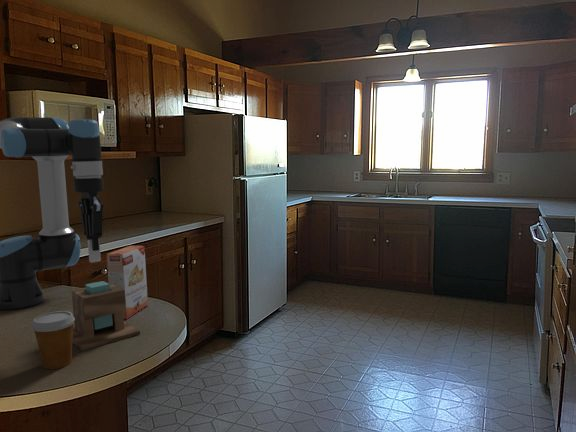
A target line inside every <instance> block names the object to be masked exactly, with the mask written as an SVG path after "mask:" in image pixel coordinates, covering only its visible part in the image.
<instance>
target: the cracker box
mask: <svg viewBox="0 0 576 432" xmlns="http://www.w3.org/2000/svg"><path fill="white" fill-rule="evenodd" d="M106 265H107V279H108V282H107V283H112V284H114V285H116V286H118V287H120V288H122V289H124V290H125V300H126V311H123V317H124V320H128V319H129V318H131V317H132V316H134V315H135V313H136V314H137V313H138V311H139V312H140V311H142V310H143V308H144V307H145V308H147V307H148V306H149V303H148V302H149V301H148V299H149V298H148V285H147V283H148V281H147V269H146V268H147V266H146V247H145V246H143V245H128V246H126V247H123V248H120V249H118V250H113V251H112V252H109V253H106ZM147 305H148V306H147ZM146 306H147V307H146ZM145 308H144V309H145ZM141 309H142V310H141Z"/></svg>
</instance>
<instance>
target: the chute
mask: <svg viewBox="0 0 576 432" xmlns="http://www.w3.org/2000/svg"><path fill="white" fill-rule="evenodd" d="M107 283H108V284H110V291H106V292H101V293H96V294H91V295H90V294H89V293H87V292H86V287H81V288H77V289H72V290H71V300H72V301H71V302H72V311H73V313H72V314H73V317H75V321H74V323H73V325H74V327H73V341H72V344H74V345H75V346H76V347H77V348H78V349H79V350H80V351H82V352H83V351H85V350H90V349H93V348H97V347H101V346H104V345H106V344H111V343H115V342H118V341H121V340H125V339H129V338H133V337H135V336H139V335H141V331H140V329H137V328H136V327H134V326H132V325H131V324H130V323H127V321H125V319H124V317H123V311H126V300H125V290H124V289H122V288H120V287H118V286H116V285H114V284H112V283H109V282H107ZM110 314H112V320H113V325H112V326H108V327H104V328H100V329H97V330H95V329H94V327H93V319H94V318H98V317H102V316H106V315H110Z"/></svg>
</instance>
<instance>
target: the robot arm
mask: <svg viewBox="0 0 576 432" xmlns="http://www.w3.org/2000/svg"><path fill="white" fill-rule="evenodd" d="M0 149H1V150H2V151H1V152H2V153H3V155H4V156H5V157H8V158H29V157H30V158H33V160H35V161H36V163H37V173H38V174H37V175H38V185H39V198H40V209H41V221H42V229H41V230H40V231H39V232H38V238H34V237H33V236H32V235H29V234H27V235H20V236H13V237H10V238H6V239H3V240H1V241H0V310H3V311H5V310H6V311H7V310H18V309H25V308H29V307H32V306H33V307H34V306H35V305H38V304H41V303H42V302H44V301H45V293H44V291H43V289H42V287H41V285H40V284H39V281H38V279H37V272H42V271H46V270H54V269H61V268H63V269H64V268H65V269H66V268H68V267H72V266H75V265H76V264H77V263H78V262H79V260H80V257H81V247H82V246H81V239H80V236H79V235H78V233H75V230H74V229H73V228H72V227H70V222H69V210H68V209H69V207H68V195H67V184H66V183H67V182H66V181H67V180H66V168H65V161H66V159H67V158H68V157H71V161H72V162H71V165H70V169H71V170H72V174H73V177H74V179H73V191H74V192H75V193H81V196H80V197H81V198H80V201H78V202H77V203H78V206H79V210H80V216H81V224H82V230H83V235H84V236H86V240H87V249H88V260H89V261H88V262H89V263H91V264H92V263H93V264H94V263H98V262H102V257H101V245H100V239H101V238H102V237H103V211H104V203H102V202H101V199H100V197H99V192H103V191H104V189H105V187H104V184H105V183H104V178H103V177H102V176H103V175H104V170H103V169H104V167H103V159H102V147H101V131H100V126H99V122H98V121H97V120H95V119H82V118H81V119H80V118H79V119H71V120H70V121H69V122H67V121H66V120H65V119H63V118H60V117H51V116H50V117H34V116H33V117H32V116H31V117H23V116H15V117H9V118H5V119H1V120H0Z"/></svg>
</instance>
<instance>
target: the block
mask: <svg viewBox="0 0 576 432" xmlns="http://www.w3.org/2000/svg"><path fill="white" fill-rule="evenodd" d="M108 283H109V282H106V281H104V280H102V281H101V280H100V281H96V282H90V283H87V284H84V285H85V287H84V288H86V292H87V293H89V294H90V295H91V294H96V293H101V292H106V291H110V284H108ZM112 325H113V320H112V314H110V315H106V316H102V317H98V318H94V319H93V327H94V329H95V330H97V329H100V328H104V327H108V326H112Z"/></svg>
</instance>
